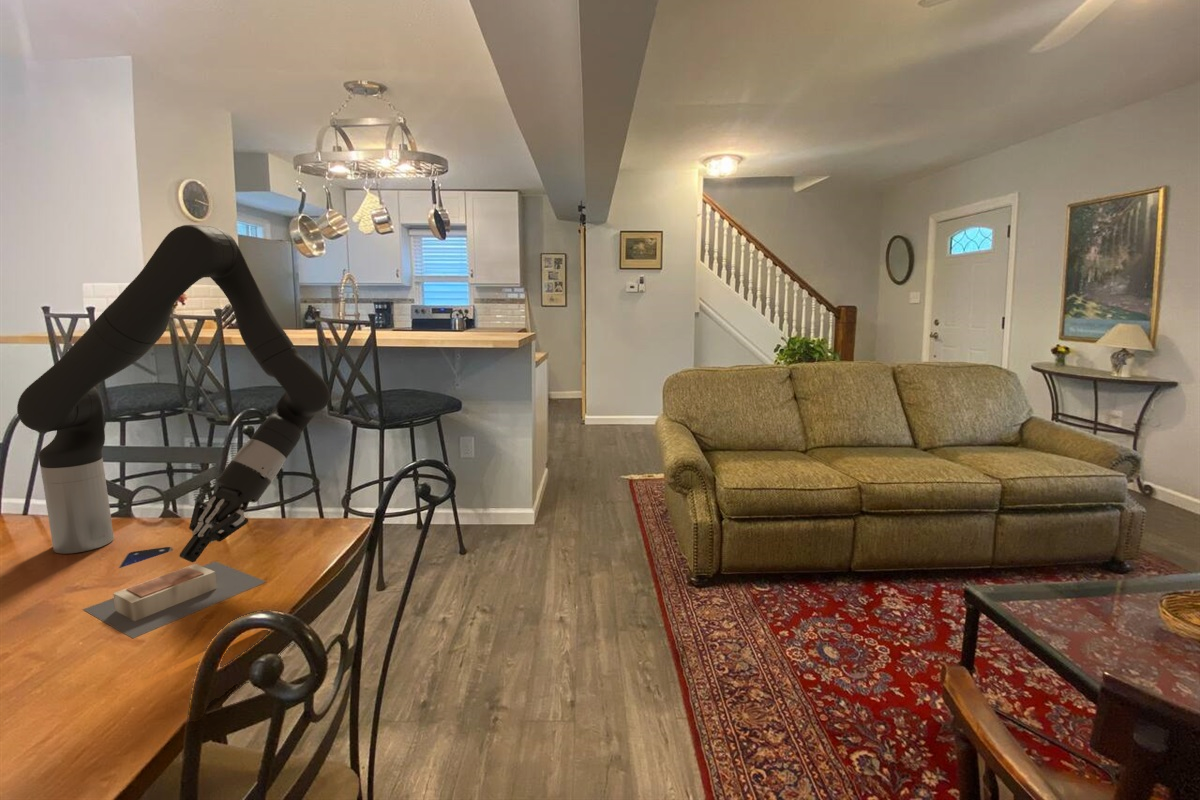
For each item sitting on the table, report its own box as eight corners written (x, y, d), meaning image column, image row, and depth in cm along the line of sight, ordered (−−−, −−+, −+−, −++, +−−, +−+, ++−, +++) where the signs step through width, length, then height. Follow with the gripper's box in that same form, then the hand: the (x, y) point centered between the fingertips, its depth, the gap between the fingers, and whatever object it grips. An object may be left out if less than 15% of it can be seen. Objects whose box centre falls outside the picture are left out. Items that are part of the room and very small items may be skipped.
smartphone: (173, 545, 119) (158, 576, 105) (174, 550, 119) (159, 581, 106) (127, 551, 115) (106, 585, 102) (128, 556, 115) (106, 590, 102)
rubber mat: (83, 614, 94) (82, 609, 94) (215, 565, 111) (215, 561, 111) (133, 643, 86) (132, 638, 86) (267, 586, 103) (267, 581, 103)
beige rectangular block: (197, 579, 104) (115, 610, 93) (195, 562, 103) (112, 591, 93) (217, 588, 101) (134, 621, 91) (215, 570, 100) (132, 601, 90)
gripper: (214, 454, 108) (145, 542, 99) (258, 464, 102) (188, 559, 93) (246, 475, 113) (183, 559, 105) (290, 486, 107) (226, 577, 99)
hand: (186, 559), depth 99 cm, fingers closed
